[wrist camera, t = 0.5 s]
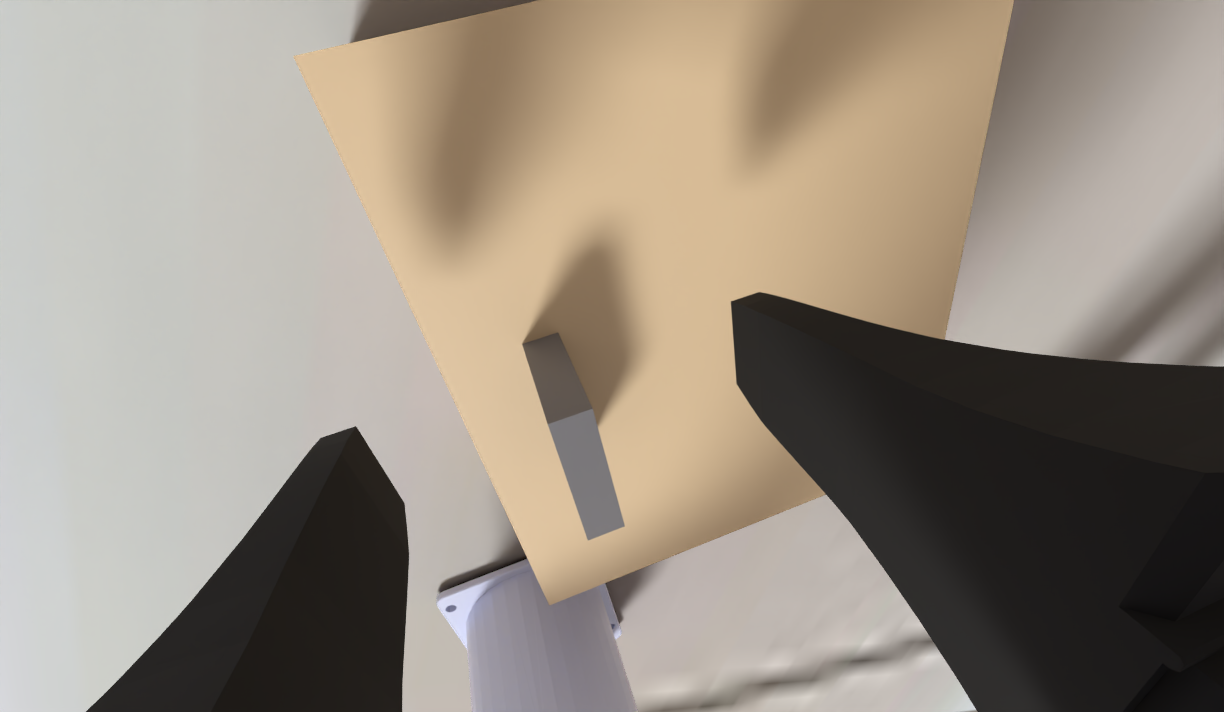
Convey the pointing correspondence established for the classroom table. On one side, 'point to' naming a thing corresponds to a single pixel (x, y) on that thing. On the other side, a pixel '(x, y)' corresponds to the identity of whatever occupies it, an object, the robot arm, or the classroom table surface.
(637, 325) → the lid
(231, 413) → the classroom table surface
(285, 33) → the classroom table surface
